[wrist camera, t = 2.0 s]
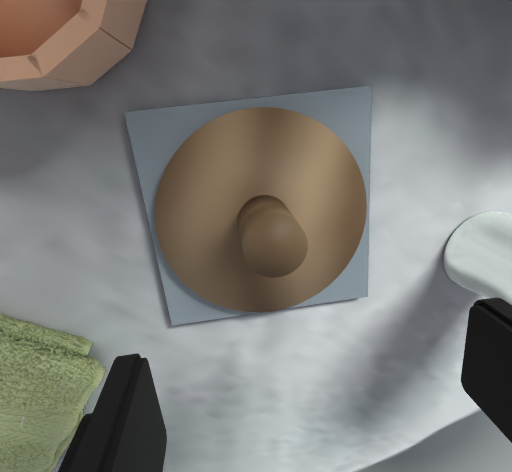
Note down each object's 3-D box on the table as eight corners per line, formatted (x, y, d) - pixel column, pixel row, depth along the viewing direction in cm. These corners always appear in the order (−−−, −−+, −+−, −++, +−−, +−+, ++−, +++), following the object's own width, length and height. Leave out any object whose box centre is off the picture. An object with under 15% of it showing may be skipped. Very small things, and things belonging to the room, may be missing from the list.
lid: (362, 95, 20) (411, 91, 15) (361, 291, 25) (397, 337, 20) (135, 120, 19) (107, 124, 14) (177, 318, 24) (167, 373, 19)
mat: (365, 86, 21) (371, 85, 20) (363, 291, 26) (367, 296, 25) (127, 111, 20) (123, 111, 19) (173, 319, 25) (171, 325, 24)
